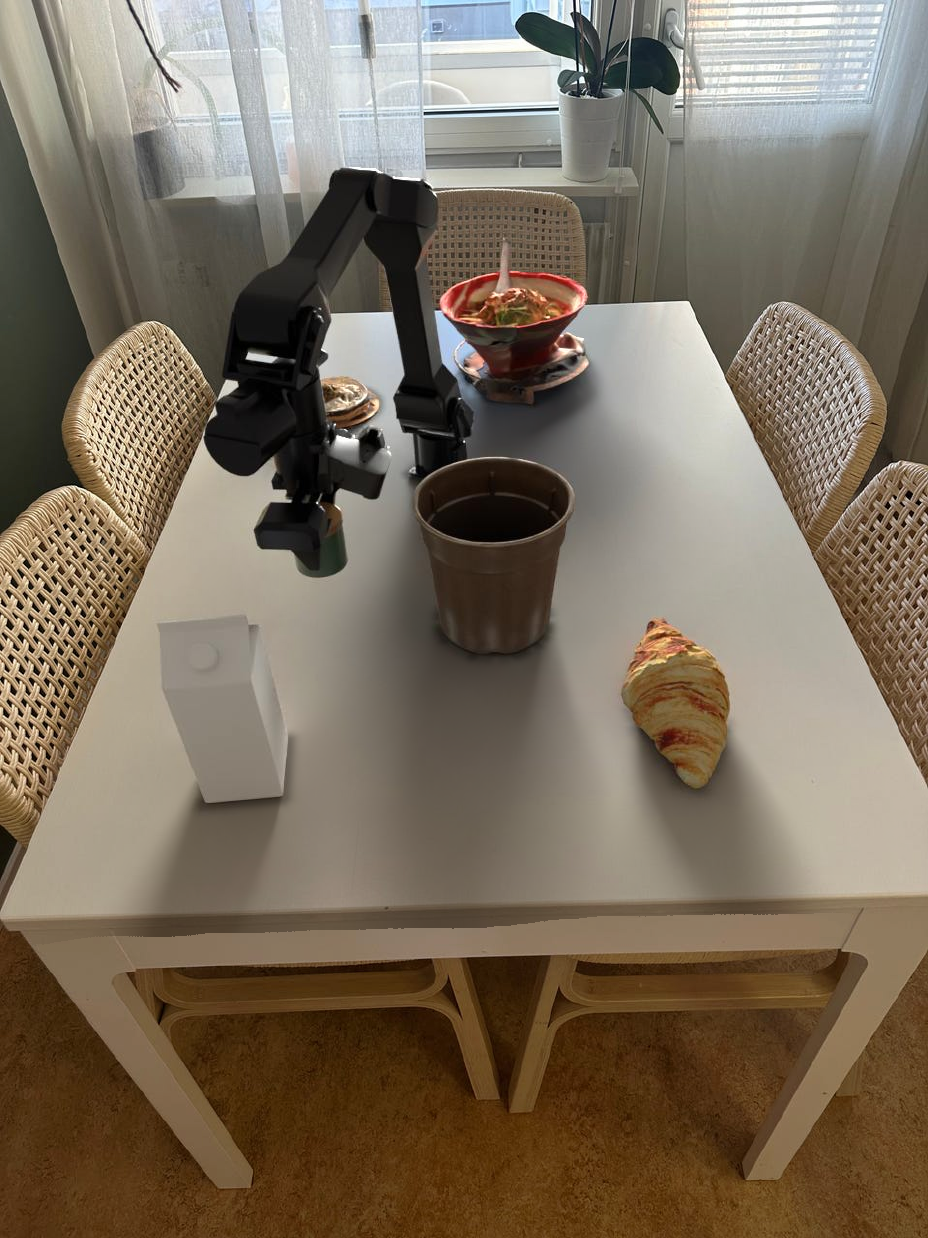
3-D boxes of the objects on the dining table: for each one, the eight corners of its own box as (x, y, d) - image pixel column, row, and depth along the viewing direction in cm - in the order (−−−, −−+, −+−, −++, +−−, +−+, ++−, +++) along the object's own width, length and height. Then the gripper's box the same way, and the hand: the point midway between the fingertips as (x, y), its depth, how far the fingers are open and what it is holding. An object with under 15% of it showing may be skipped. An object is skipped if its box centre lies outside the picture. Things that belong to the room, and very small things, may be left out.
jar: (284, 569, 94) (274, 523, 90) (317, 540, 98) (309, 496, 94) (327, 584, 92) (319, 539, 88) (359, 555, 95) (352, 510, 91)
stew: (457, 329, 158) (453, 236, 147) (591, 332, 154) (597, 237, 144) (431, 402, 137) (424, 300, 126) (585, 407, 134) (592, 303, 123)
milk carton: (215, 745, 85) (164, 594, 72) (288, 738, 85) (250, 587, 73) (205, 804, 79) (148, 653, 67) (283, 797, 80) (241, 645, 67)
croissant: (722, 819, 80) (779, 769, 76) (630, 792, 77) (684, 738, 72) (673, 656, 96) (718, 607, 91) (596, 629, 93) (637, 576, 88)
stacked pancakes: (370, 379, 143) (368, 355, 141) (386, 422, 132) (384, 397, 130) (280, 392, 141) (275, 368, 138) (288, 437, 130) (284, 411, 127)
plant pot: (477, 558, 106) (473, 440, 95) (594, 604, 99) (604, 482, 88) (393, 633, 96) (378, 511, 86) (516, 691, 89) (517, 565, 78)
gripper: (361, 476, 76) (380, 612, 86) (395, 378, 90) (407, 506, 100) (237, 473, 77) (270, 608, 87) (289, 377, 91) (312, 503, 101)
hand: (320, 553), depth 94 cm, fingers closed on jar, 5 cm apart
